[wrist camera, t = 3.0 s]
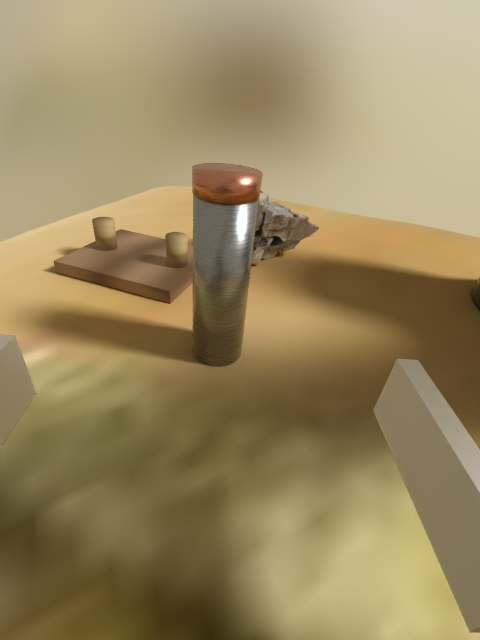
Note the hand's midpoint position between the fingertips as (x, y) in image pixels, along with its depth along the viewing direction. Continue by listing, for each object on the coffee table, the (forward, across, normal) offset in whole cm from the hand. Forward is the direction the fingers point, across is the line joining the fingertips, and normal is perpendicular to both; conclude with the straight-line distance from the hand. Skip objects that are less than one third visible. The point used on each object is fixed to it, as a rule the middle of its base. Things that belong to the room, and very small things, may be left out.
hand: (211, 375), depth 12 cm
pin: (+10, 0, -7) cm, 12 cm away
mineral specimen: (+27, +5, -7) cm, 28 cm away
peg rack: (+22, -8, -7) cm, 25 cm away
